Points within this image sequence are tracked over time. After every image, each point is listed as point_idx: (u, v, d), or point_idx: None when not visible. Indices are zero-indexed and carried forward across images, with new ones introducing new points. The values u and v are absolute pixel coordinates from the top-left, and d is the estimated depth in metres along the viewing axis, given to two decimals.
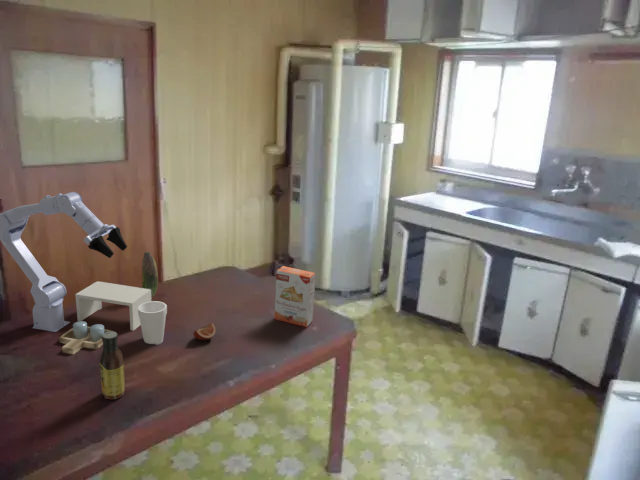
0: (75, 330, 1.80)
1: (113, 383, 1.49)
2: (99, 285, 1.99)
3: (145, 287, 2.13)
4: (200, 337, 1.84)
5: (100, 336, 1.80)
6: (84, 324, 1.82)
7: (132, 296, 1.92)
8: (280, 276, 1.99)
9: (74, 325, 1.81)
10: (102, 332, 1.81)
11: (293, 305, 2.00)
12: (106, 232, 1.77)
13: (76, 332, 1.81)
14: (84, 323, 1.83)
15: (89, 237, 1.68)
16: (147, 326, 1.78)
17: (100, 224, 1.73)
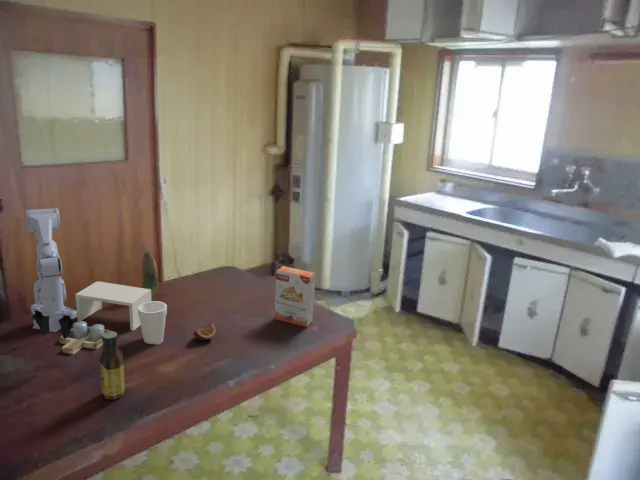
0: (75, 330, 1.80)
1: (113, 383, 1.49)
2: (99, 285, 1.99)
3: (145, 287, 2.13)
4: (200, 337, 1.84)
5: (100, 336, 1.80)
6: (84, 324, 1.82)
7: (132, 296, 1.92)
8: (280, 276, 1.99)
9: (74, 325, 1.81)
10: (102, 332, 1.81)
11: (293, 305, 2.00)
12: None
13: (76, 332, 1.81)
14: (84, 323, 1.83)
15: (32, 308, 1.63)
16: (147, 326, 1.78)
17: (46, 308, 1.60)
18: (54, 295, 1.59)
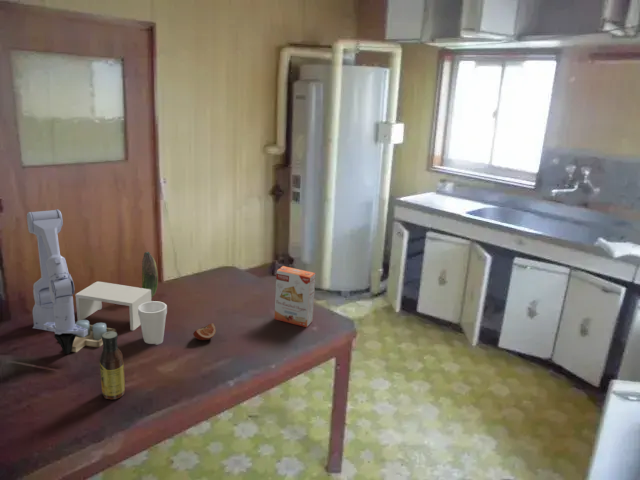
0: None
1: (113, 383, 1.49)
2: (99, 285, 1.99)
3: (145, 287, 2.13)
4: (200, 337, 1.84)
5: (102, 334, 1.81)
6: (86, 322, 1.83)
7: (132, 296, 1.92)
8: (280, 276, 1.99)
9: (76, 323, 1.82)
10: (104, 330, 1.82)
11: (293, 305, 2.00)
12: None
13: None
14: (86, 321, 1.84)
15: (45, 327, 1.70)
16: (147, 326, 1.78)
17: (58, 327, 1.66)
18: (67, 314, 1.66)
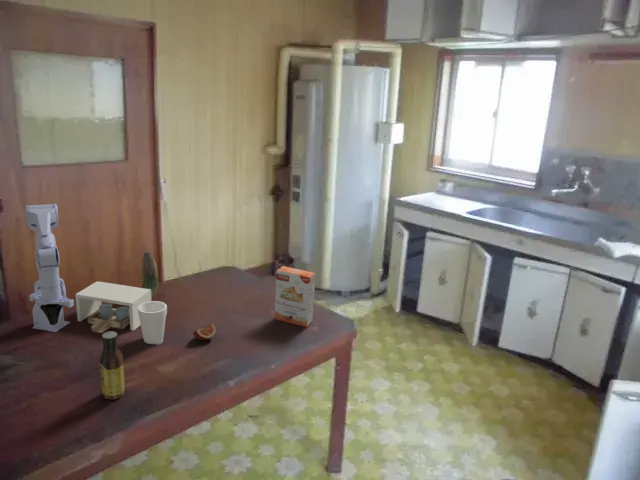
0: (102, 311, 1.95)
1: (113, 383, 1.49)
2: (99, 285, 1.99)
3: (145, 287, 2.13)
4: (200, 337, 1.84)
5: (125, 317, 1.94)
6: (110, 306, 1.96)
7: (132, 296, 1.92)
8: (280, 276, 1.99)
9: (100, 307, 1.95)
10: (127, 314, 1.95)
11: (293, 305, 2.00)
12: None
13: (103, 314, 1.95)
14: (109, 305, 1.97)
15: (31, 298, 1.69)
16: (147, 326, 1.78)
17: (44, 297, 1.66)
18: (52, 284, 1.65)
